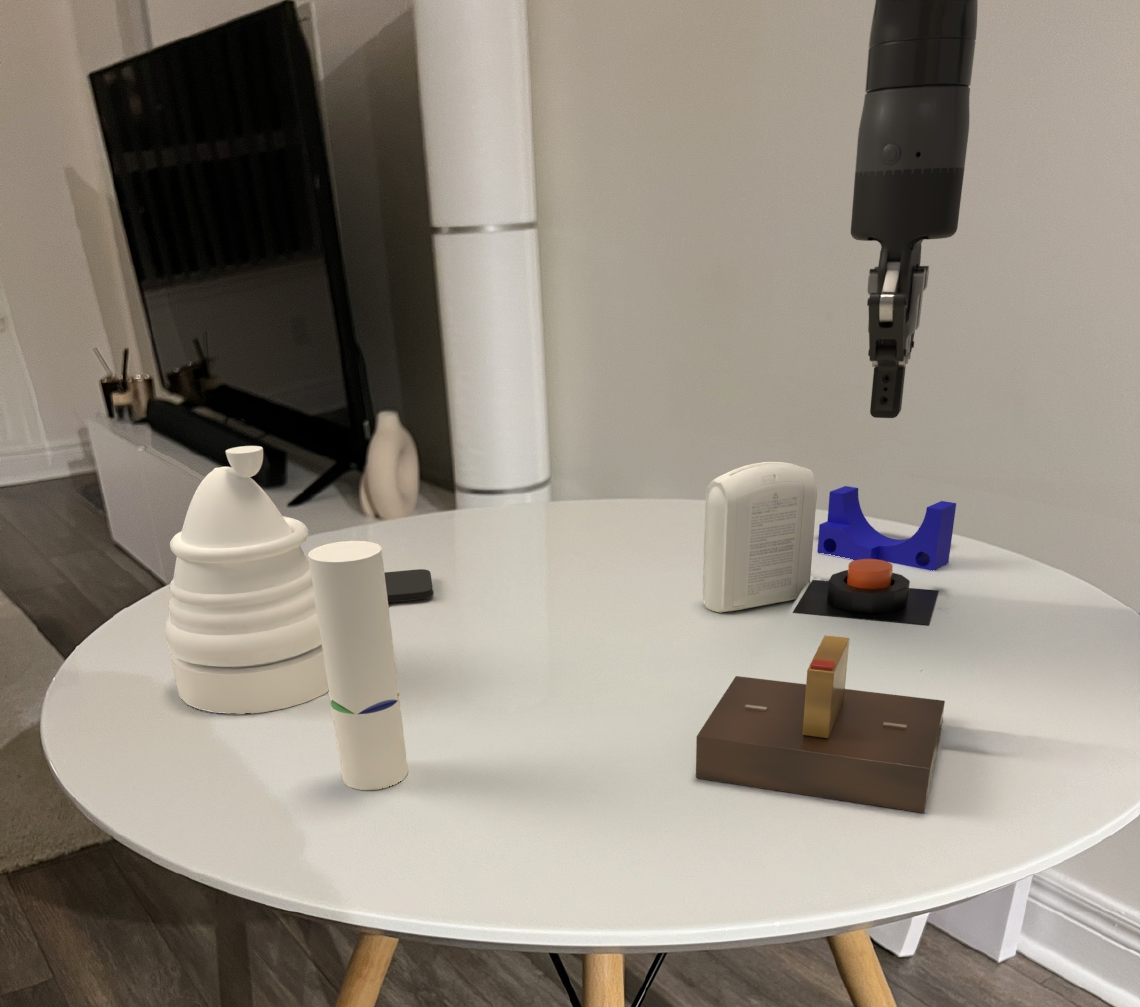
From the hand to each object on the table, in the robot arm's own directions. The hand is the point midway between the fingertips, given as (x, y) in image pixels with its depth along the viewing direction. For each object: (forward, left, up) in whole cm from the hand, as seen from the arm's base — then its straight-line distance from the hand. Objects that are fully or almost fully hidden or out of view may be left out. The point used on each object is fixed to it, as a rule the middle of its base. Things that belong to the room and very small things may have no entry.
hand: (885, 415), depth 84 cm
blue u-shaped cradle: (+1, -18, -17) cm, 25 cm away
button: (0, 0, -14) cm, 14 cm away
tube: (+26, +38, -17) cm, 49 cm away
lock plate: (-1, +27, -17) cm, 32 cm away
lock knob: (-1, +27, -14) cm, 30 cm away
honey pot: (+43, +27, -17) cm, 54 cm away
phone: (+47, +7, -17) cm, 50 cm away
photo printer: (+10, -2, -17) cm, 20 cm away
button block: (0, 0, -17) cm, 17 cm away
